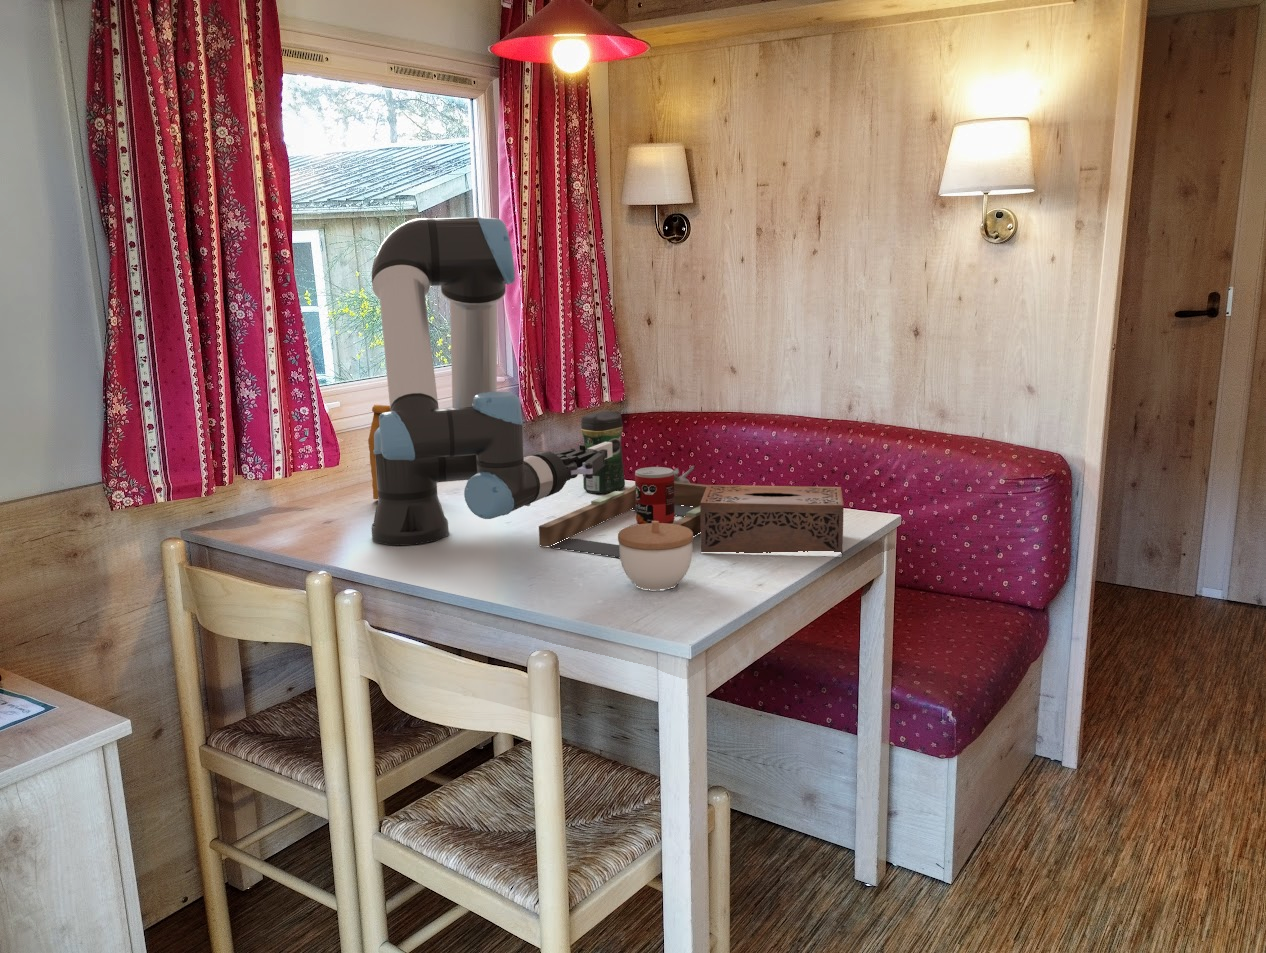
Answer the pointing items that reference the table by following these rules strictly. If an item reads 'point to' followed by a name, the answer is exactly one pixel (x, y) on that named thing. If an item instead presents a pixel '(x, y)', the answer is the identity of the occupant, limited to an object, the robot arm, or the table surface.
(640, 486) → the canned food
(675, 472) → the grey toy figurine
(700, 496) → the lane box
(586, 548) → the near trap pad
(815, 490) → the tissue box cover
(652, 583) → the lidded bowl
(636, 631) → the table surface
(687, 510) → the pad
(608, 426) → the coffee jar
